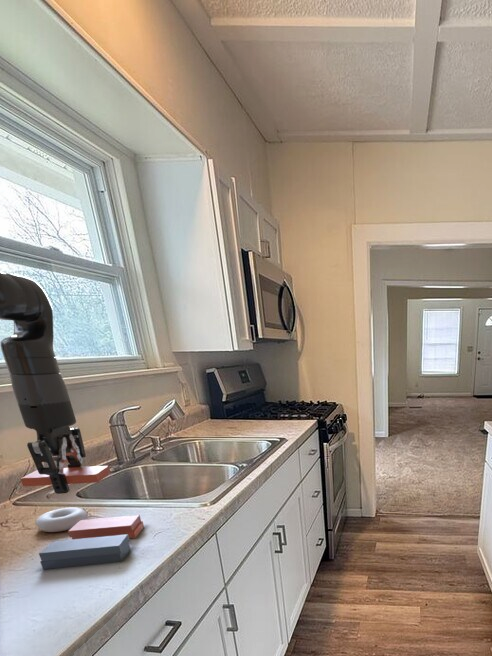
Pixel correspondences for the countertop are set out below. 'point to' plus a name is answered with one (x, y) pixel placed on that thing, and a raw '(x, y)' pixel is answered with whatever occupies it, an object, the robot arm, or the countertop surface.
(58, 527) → the donut
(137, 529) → the orange-red flat block
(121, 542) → the grey rectangular block
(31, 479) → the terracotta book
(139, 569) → the countertop surface
